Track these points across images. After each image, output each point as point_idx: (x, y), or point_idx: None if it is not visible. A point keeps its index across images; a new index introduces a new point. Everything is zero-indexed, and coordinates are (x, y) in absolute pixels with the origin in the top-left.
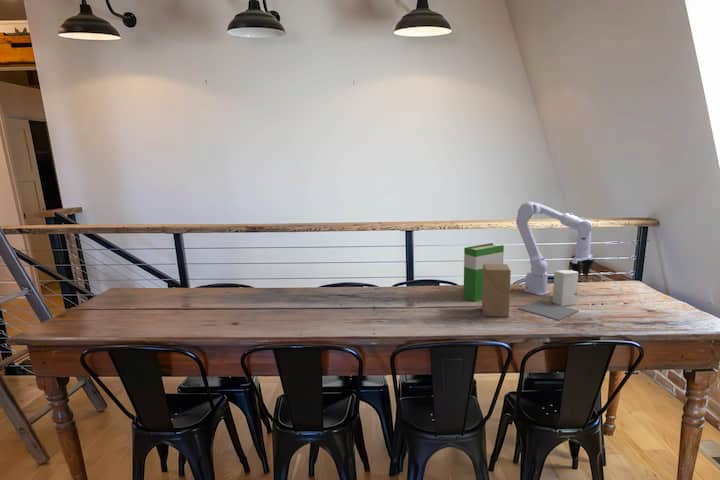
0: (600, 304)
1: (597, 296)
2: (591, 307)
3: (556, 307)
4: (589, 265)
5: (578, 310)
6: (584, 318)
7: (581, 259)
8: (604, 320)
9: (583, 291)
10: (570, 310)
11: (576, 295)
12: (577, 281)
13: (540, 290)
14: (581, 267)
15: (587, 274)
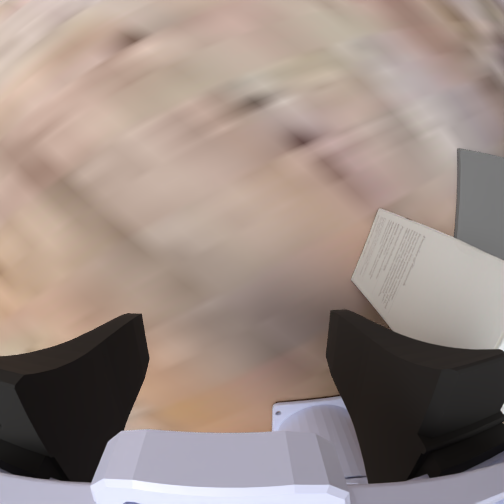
0: (265, 107)
1: (120, 203)
2: (361, 122)
3: (482, 246)
4: (79, 370)
5: (461, 150)
6: (498, 101)
7: (496, 479)
8: (462, 32)
9: (101, 307)
10: (481, 179)
11: (406, 218)
12: (468, 245)
13: (350, 420)
14: (434, 354)
15: (136, 315)
